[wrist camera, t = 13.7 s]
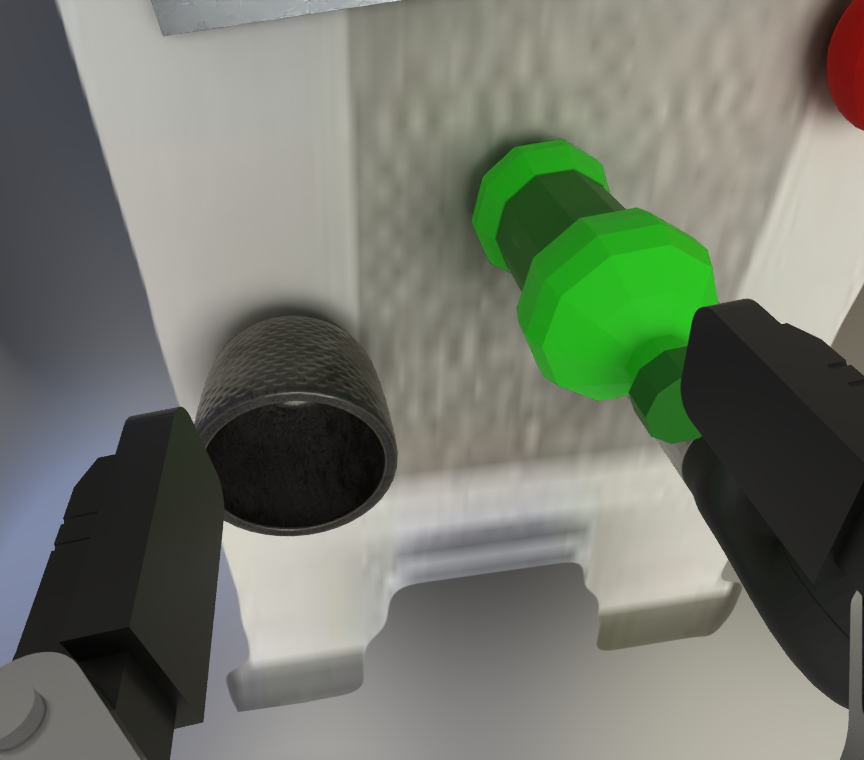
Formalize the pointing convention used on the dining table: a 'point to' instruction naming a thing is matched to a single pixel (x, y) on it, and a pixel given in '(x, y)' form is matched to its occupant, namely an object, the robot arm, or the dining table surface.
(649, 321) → the plastic bottle
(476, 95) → the dining table surface
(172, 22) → the panel
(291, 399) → the planter
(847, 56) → the tomato
